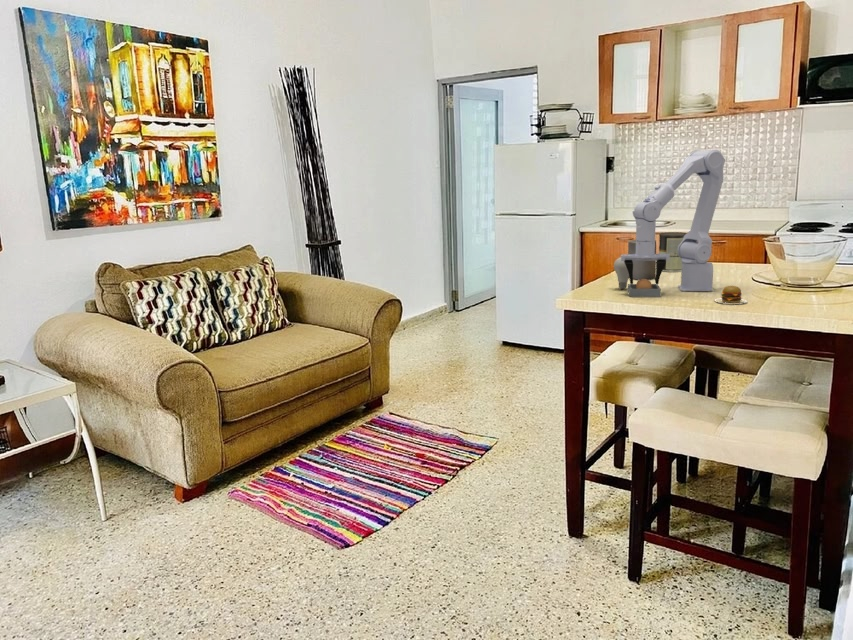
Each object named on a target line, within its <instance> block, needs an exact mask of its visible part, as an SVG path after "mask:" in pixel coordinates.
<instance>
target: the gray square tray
mask: <svg viewBox="0 0 853 640" xmlns="http://www.w3.org/2000/svg"><path fill="white" fill-rule="evenodd" d="M636 284H637V283H633V284H630V283H627V293H629V294H628V296H629V298H661V292H662V288H661V287H660V286H659V283H658V284H656V283H651V284H652V288H651V289H636Z"/></svg>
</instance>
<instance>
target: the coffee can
mask: <svg viewBox="0 0 853 640" xmlns="http://www.w3.org/2000/svg"><path fill="white" fill-rule="evenodd" d="M687 233H688V232H673V231H672V232H671V231H670V232H669V231H668V232H661V233H658V234H659V235H658V236H659V237H658V238H659V242H658V245H659V247H658V254H669V255H670V259H669V261H666V265H665V267H664V268H663V270H662V272H663V273H681V272H682V261H681V258H680V257H679V255H678V246H679V245H680V243H681V242H682V240H683V237H684V236H685V235H686V234H687Z"/></svg>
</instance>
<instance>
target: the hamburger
mask: <svg viewBox="0 0 853 640" xmlns="http://www.w3.org/2000/svg"><path fill="white" fill-rule="evenodd" d="M719 299H722V300H721V301H722V302H721V301H720V300H719ZM716 300H719V301H716ZM741 300H742V301H741ZM743 301H744V302H743ZM714 302H716V303H717V302H718V304H720V303H723V304H722V305H728V304H734V305H733V306H735V304H739V305H744V304H747V303H748V300H747V299H745V298H742V290H741V288H740V287H739V286H736V285H728V286H725V287H724V288H723V289H722V293H721V297H718V298H715V299H714ZM724 302H726V303H724ZM743 303H744V304H743Z"/></svg>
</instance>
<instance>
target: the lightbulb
mask: <svg viewBox="0 0 853 640" xmlns="http://www.w3.org/2000/svg"><path fill="white" fill-rule="evenodd" d="M613 262H614V263H613V269H614V272H615V274H616V276H617V281H618V288H619V289H621V290H622V289H623V290H625V289H627V288H628V281H629V278H628V276H629V273H628V270H627V267H626V265H625V263H624V261H621V256H619V257H618V258H617V259H615V261H613Z"/></svg>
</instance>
